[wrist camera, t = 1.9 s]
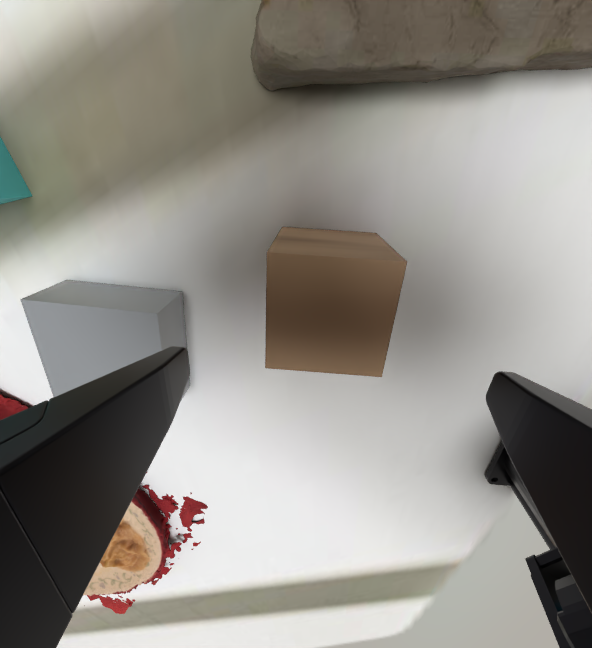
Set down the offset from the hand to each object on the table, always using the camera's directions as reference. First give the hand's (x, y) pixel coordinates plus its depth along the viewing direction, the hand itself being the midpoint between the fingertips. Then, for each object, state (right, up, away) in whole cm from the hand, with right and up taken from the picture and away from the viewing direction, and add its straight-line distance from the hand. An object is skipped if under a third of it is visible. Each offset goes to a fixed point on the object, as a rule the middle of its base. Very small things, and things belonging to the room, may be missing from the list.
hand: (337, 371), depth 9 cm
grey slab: (-12, +1, +11) cm, 16 cm away
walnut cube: (0, +4, +8) cm, 9 cm away
